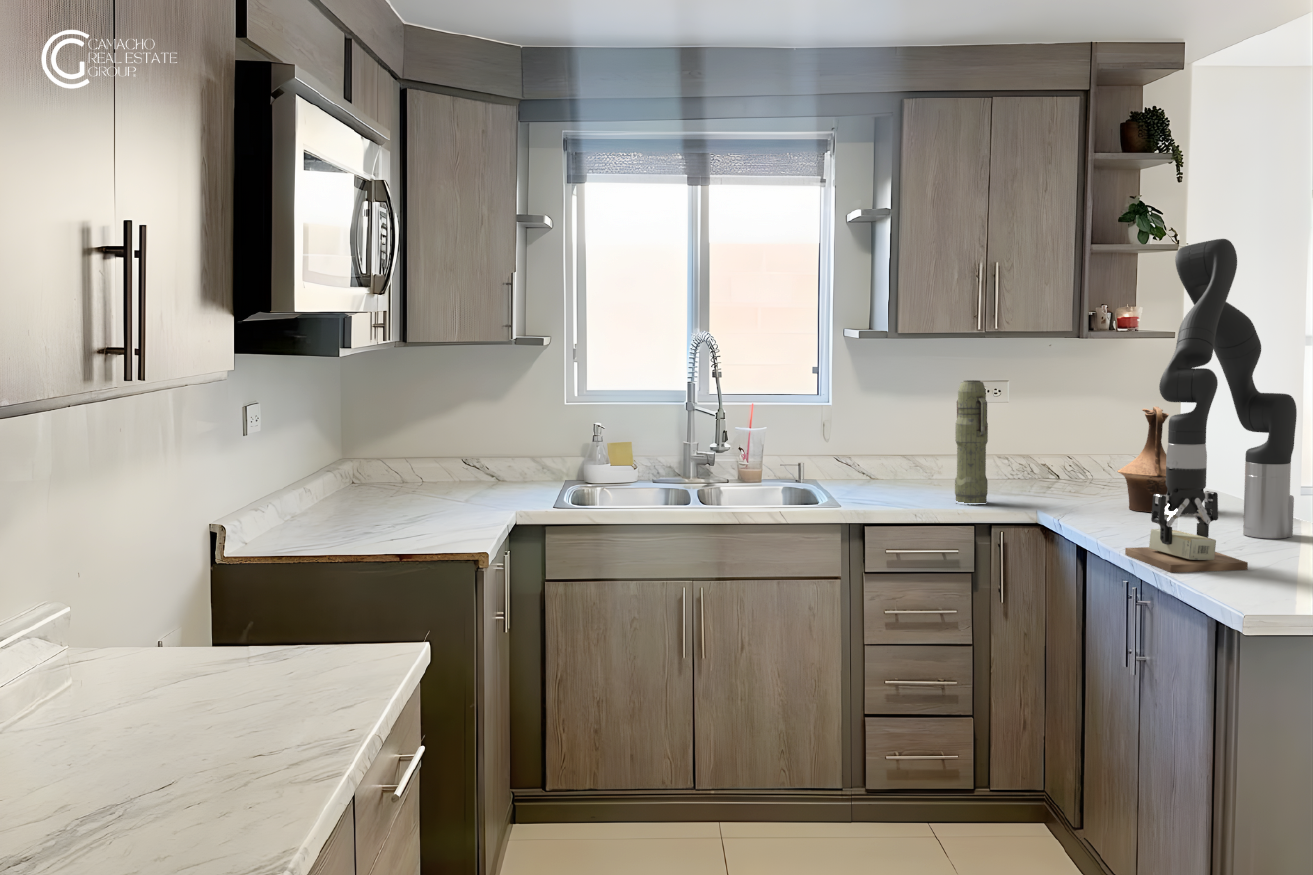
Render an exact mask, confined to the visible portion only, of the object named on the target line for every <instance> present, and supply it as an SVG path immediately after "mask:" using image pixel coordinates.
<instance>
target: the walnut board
mask: <svg viewBox="0 0 1313 875" xmlns="http://www.w3.org/2000/svg"><path fill="white" fill-rule="evenodd" d="M1124 548H1125V549H1124V550H1125V553H1124V555H1125V556H1128V557H1129V558H1133V559H1135V560H1138V561H1141V562H1143V563H1145V564H1148V565H1151V566H1153V567H1156V568H1157V569H1161V570H1163V571H1165V572H1168V573H1191V572H1192V573H1193V572H1217V571H1218V572H1223V571H1248V566H1249V565H1248V564H1249V562H1247V561H1244V560H1243V559H1242V560H1241V559H1239V558H1236V557H1232V556H1230V555H1226V554H1223V553H1221V552H1217V551H1215V556H1214V560H1191V559H1186V558H1182V557H1179V556H1175V555H1171V554H1168V553H1164V552H1160V551H1157V550H1153V549H1149V546H1147V547H1146V546H1143V547H1124Z"/></svg>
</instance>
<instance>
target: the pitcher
mask: <svg viewBox="0 0 1313 875" xmlns="http://www.w3.org/2000/svg"><path fill="white" fill-rule="evenodd" d="M1141 411H1143V412H1144V416H1145V418H1146V421H1147V423H1148V432H1147V438H1146V442H1145V445H1144V447H1143V449H1142V450H1141V452H1140V453H1139V455H1138V456H1137V457H1135V458H1134V459H1133V460H1132V461H1130V462H1128V463H1127V464H1126V465H1124V466H1122V467H1121V468H1120V469H1118V470H1117V473H1119V474H1121V475H1122V476H1123V477H1124V479H1125V481H1126V486H1127V495H1128V509H1129V510H1131V511H1137V512H1147V513H1152V503H1153V495H1154V494H1160V495H1166V494H1167V491H1168V489H1167V486H1166V454H1167V452H1165V450H1164V447H1163V444H1162V439H1163V424H1165V422H1166V420H1167V419H1168V417H1169V416H1170V414H1169V413H1166V412H1164V409H1163V408H1162V409H1161V408H1160V407H1159V406H1153V407H1152V409H1148V408H1142V409H1141ZM1167 505H1168V502H1167V504H1166V506H1167ZM1166 506H1165V508H1166ZM1171 512H1173V510H1172V511H1171Z"/></svg>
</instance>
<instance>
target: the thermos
mask: <svg viewBox="0 0 1313 875" xmlns="http://www.w3.org/2000/svg"><path fill="white" fill-rule="evenodd" d="M985 387H986V386H985V384H984V382H983V381H981V380H963V381H961V382H960V384H959V386H958V391H957V400H956V421H955V434H954V435H955V437H954V438H955V444H956V476H955V479H954V494H955V500H956V501H958V502H964V503H986V502H987V496H988V489H989V488H988V486H989V485H988V484H989V482H988V481H989V480H988V478H987V473H986V471H987V468H986V467H987V466H986V464H987V461H986V460H987V458H986V457H987V451H986V450H987V444H988V441H989V436H988V435H989V434H988V433H989V432H988V430H989V428H988V427H989V426H988V425H989V424H988V401H987V392H986V388H985ZM987 503H988V502H987Z"/></svg>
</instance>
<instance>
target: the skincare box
mask: <svg viewBox="0 0 1313 875" xmlns="http://www.w3.org/2000/svg"><path fill="white" fill-rule="evenodd" d="M1148 544H1149V546H1148V547H1149V549H1153V550H1157V551H1160V552H1164V553H1168V554H1171V555H1175V556H1179V557H1182V558H1186V559H1191V560H1214V556H1215V552H1216V545H1217V540H1216V539H1214V538H1209V537H1208V538H1206V537H1202V536H1198V535H1197V534H1193V533H1190V532H1189V533H1188V532H1184V531H1182V530H1181V531H1179V530H1176V529H1172V544H1170V545H1167V544H1163V543H1162V541H1161V540H1160V528H1151V529H1150V535H1149V542H1148Z"/></svg>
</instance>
